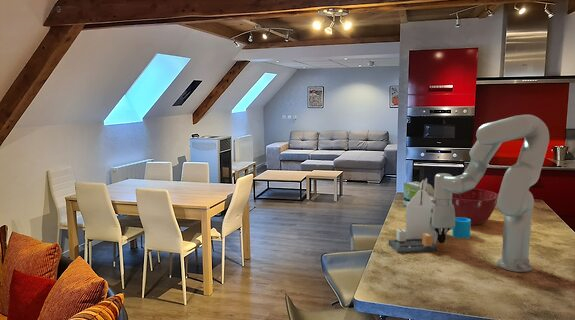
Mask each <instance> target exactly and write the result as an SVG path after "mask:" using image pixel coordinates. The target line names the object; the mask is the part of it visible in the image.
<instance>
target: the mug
mask: <svg viewBox="0 0 575 320" xmlns="http://www.w3.org/2000/svg"><path fill="white" fill-rule="evenodd" d="M471 226H472V225H471V220H470V219H468V218H463V217H456V218H455V227H454V229H452V230H451V231H452V233H451V234H452V235H451V236H452V237H455V238H458V239H469V238H471Z"/></svg>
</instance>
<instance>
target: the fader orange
mask: <svg viewBox="0 0 575 320" xmlns="http://www.w3.org/2000/svg"><path fill="white" fill-rule="evenodd" d="M432 238H433V236H432V235H430V234H429V233H425V234H422V244H423V245H425V246H432Z"/></svg>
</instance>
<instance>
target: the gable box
mask: <svg viewBox="0 0 575 320" xmlns="http://www.w3.org/2000/svg"><path fill="white" fill-rule="evenodd" d="M427 186H428V187H427ZM432 186H433V185H431V184H430V183H428V178H427V177H425V178H424V179H422V180H421V182H420V184H419V188H420V189H419V190H418V191H417V193H416V194H415V195H414V196H413V198H412V199H411V200H410V202H409V203H408V205H407V206H405V207H406V209H405V213H406V214H405V231H406V239H422V234H425V233H429V234H430V235H432V236H433V238H432V243H434V244H435V245H436V242H437V241H438V240H437V237H438V233H437V232H436V231H434V230H431V229H430V213H431V208H432V204H434V203H431V200H433V199H434V187H432Z"/></svg>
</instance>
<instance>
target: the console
mask: <svg viewBox="0 0 575 320" xmlns="http://www.w3.org/2000/svg"><path fill="white" fill-rule="evenodd" d="M388 245H389V246H390V247H391V248H392V249H393V250H394V249H395V250H396V251H395V250H394V251H395V252H396V253H397V254H399V253H401V254H402V253H419V252H422V253H423V252H437V251H439V249H438V247H439V246H438V245H437V244H436V243H435V244H434V243H432V246H425V245H423V244H422V239H406V241H401V242H399V241H398V240H397V239H396V238H394V239H388Z"/></svg>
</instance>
